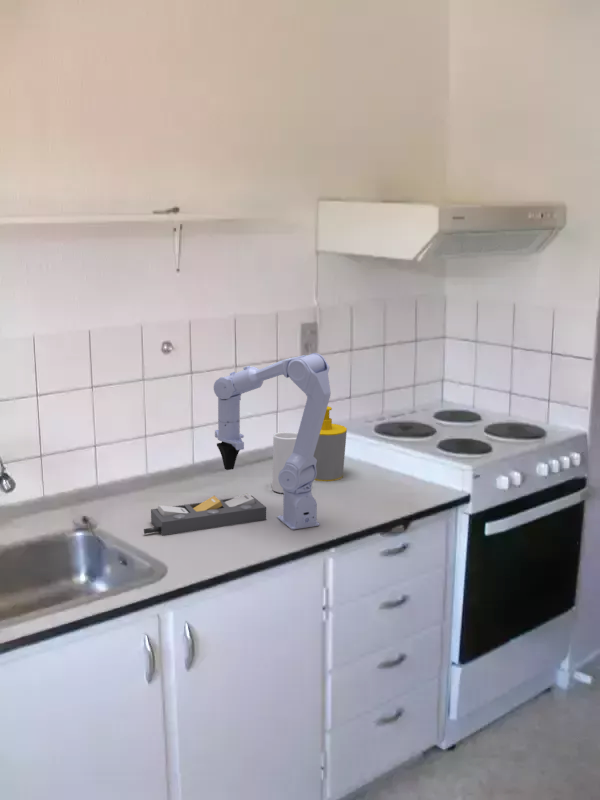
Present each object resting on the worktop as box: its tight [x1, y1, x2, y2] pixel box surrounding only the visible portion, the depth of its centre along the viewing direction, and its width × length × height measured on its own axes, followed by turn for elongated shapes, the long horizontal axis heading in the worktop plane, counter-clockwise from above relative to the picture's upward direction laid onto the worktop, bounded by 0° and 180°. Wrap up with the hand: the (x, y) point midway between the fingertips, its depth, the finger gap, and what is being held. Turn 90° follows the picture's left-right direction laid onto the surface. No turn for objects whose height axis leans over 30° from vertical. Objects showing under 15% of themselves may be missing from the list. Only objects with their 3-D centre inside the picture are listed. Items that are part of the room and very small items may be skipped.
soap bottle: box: [314, 406, 348, 482], centre depth 269 cm, size 13×13×21 cm
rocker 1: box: [157, 504, 189, 516], centre depth 230 cm, size 5×7×2 cm
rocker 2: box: [224, 492, 255, 507], centre depth 237 cm, size 5×7×2 cm
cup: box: [271, 431, 298, 494], centre depth 256 cm, size 8×8×16 cm
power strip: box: [143, 495, 267, 536], centre depth 231 cm, size 10×32×4 cm, turn 115°
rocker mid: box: [193, 495, 223, 512], centre depth 233 cm, size 5×7×2 cm
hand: (229, 469), depth 242 cm, fingers closed
